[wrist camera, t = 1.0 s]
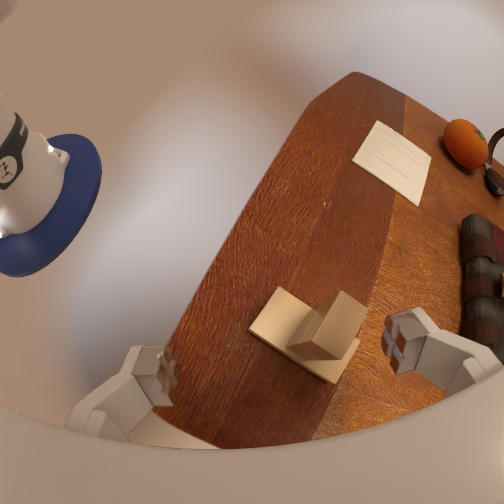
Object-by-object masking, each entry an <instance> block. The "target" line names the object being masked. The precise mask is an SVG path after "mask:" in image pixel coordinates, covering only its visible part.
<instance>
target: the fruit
mask: <svg viewBox="0 0 504 504" xmlns="http://www.w3.org/2000/svg"><path fill="white" fill-rule="evenodd" d="M444 142H445V145H446V148H447V150H448V152H449V153H450V154H451V156H452V157H453V158H454V159H455V161H457V162H458V163H459V164H461V165H462V166H464V167H466V168H468V169H477V168H479V167H481V166H483V165H484V164H485V162H486V160H487V158H488V144H487V141H486V139H485V137H484V136H483V134H482V133H481V132H480V131H479V130H478V129H477V128H476V126H474V125H473V124H471V123H470V122H469V121H467V120H463V119H456V120H453V121H451V122H450V123H449V124H448V125H447V126H446V128H445V130H444Z"/></svg>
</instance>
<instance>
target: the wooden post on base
mask: <svg viewBox="0 0 504 504" xmlns="http://www.w3.org/2000/svg"><path fill="white" fill-rule="evenodd" d="M368 311H369V309H368V308H366V307H365V306H363V305H362V304H360V303H359V302H358V301H356V300H355V299H353V298H352V297H350V296H349V295H347V294H346V293H344V292H343V291H342V290H340V291H339V292H337V293H336V294H335V295H333V296H332V297H330V298H329V299H327V300H326V301H324V302H323V303H321V304H320V305H318V306H317V307H315V308H314V309H312V308H310V307H309V306H307V305H306V304H304V303H303V302H301V301H300V300H298V299H297V298H295V297H294V296H292V295H291V294H290V293H288V292H287V291H285V290H284V289H282V288H281V287H278V288H277V289H276V291H275V292H274V294H273V295H272V296H271V298H270V299H269V301H268V302H267V304H266V305H265V306H264V308H263V309H262V311H261V312H260V313H259V315H258V316H257V318H256V319H255V320H254V322H253V323H252V325H251V326H250V327H249V329H248V332H249V333H251V334H252V335H254V336H255V337H257V338H258V339H260V340H261V341H263V342H264V343H266V344H267V345H269V346H270V347H272V348H273V349H275V350H276V351H278V352H279V353H281V354H282V355H284V356H285V357H287V358H288V359H290V360H292V361H293V362H295V363H296V364H298V365H299V366H301V367H303V368H304V369H306V370H307V371H309V372H311V373H312V374H314V375H315V376H317V377H319V378H320V379H322V380H324V381H325V382H327V383H332V384H336V383H337V381H338V379H339V378H340V376H341V374H342V373H343V371H344V369H345V368H346V366H347V364H348V363H349V361H350V359H351V357H352V356H353V354H354V352H355V350H356V349H357V347H358V345H359V343H360V340H359V339H357V338H356V337H355V335H356V334H357V332H358V330H359V328H360V326H361V324H362V322H363V320H364V318H365V317H366V315H367V313H368Z"/></svg>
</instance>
